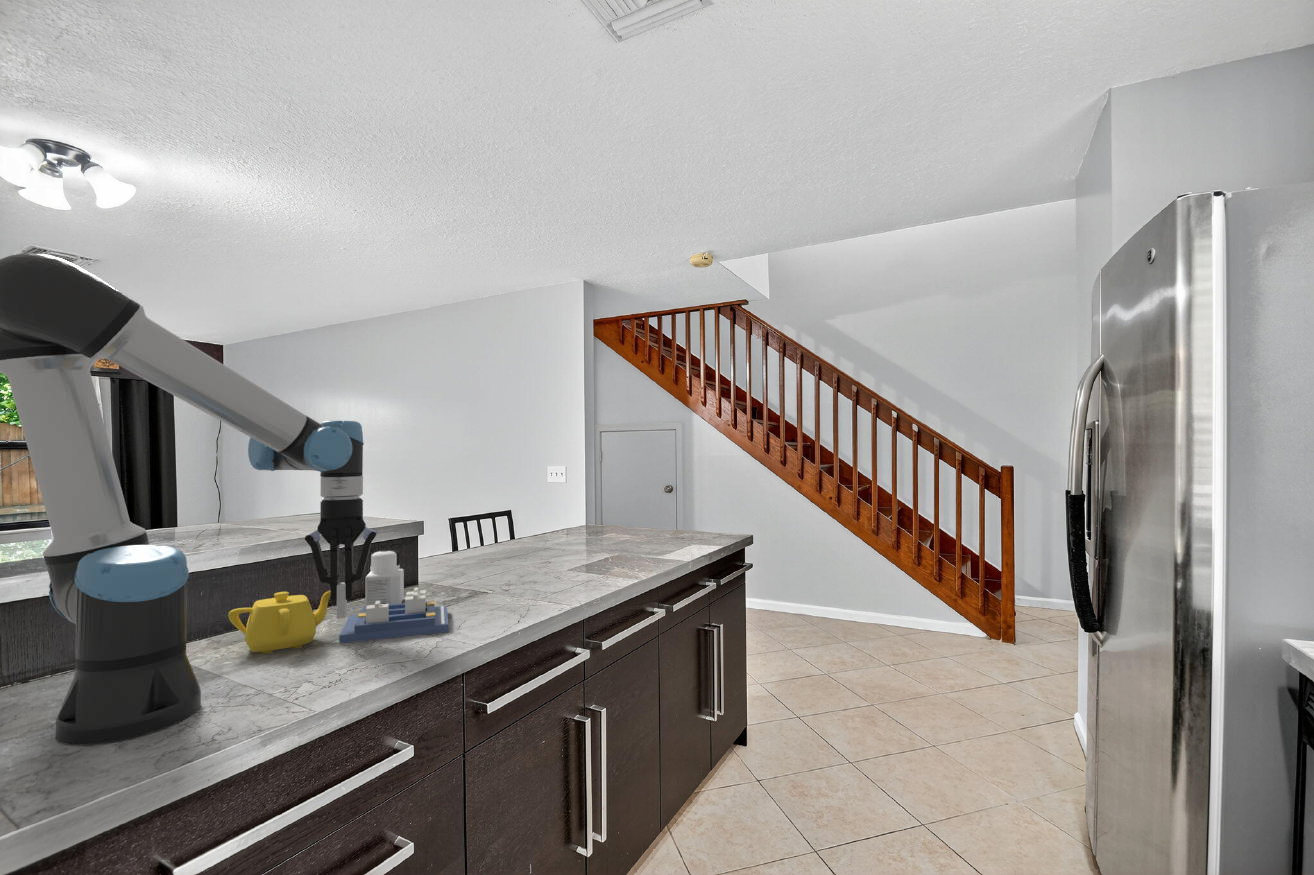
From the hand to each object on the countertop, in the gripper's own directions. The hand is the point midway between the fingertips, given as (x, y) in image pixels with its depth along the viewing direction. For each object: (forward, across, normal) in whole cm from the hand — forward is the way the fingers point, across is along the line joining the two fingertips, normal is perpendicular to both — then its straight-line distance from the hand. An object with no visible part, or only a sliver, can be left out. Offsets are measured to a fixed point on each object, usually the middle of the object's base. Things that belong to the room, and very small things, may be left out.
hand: (341, 616), depth 119 cm
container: (+5, +6, +27) cm, 28 cm away
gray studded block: (+3, +13, +5) cm, 15 cm away
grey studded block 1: (+3, +6, 0) cm, 7 cm away
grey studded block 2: (+3, +13, +10) cm, 17 cm away
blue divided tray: (+4, +10, +5) cm, 12 cm away
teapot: (+5, -10, -1) cm, 11 cm away
